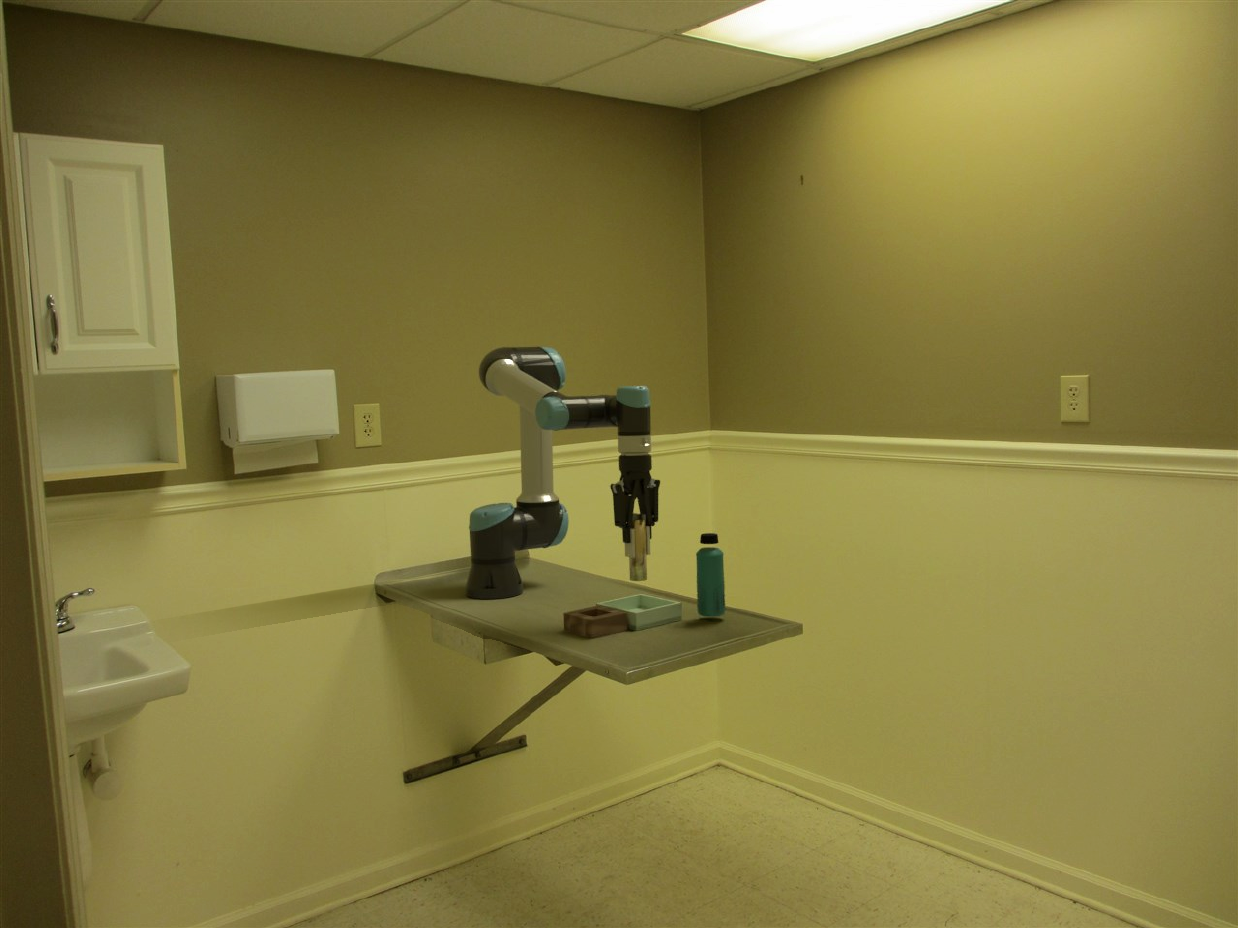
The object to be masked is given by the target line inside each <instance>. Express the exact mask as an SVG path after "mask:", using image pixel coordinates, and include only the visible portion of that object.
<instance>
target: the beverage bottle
mask: <svg viewBox="0 0 1238 928" xmlns="http://www.w3.org/2000/svg"><path fill="white" fill-rule="evenodd" d="M699 540H700V541H699V543H700V544H703V545H715V544H719V536H718V533H715V532H712V533H711V532H707V533H701V534H700V539H699ZM695 556H696V592H697V593H696V600H697V604H696V607H697V613H698V615H699V616H703V617H711V618H712V617H713V618H714V617H721V616H723V615H725V613H726V609H727V608H726V594H725V593H726V592H725V591H726V586H725V585H726V584H725V583H726V581H725V568H724V565H725V564H724V552H723V551H722V550H721V549H720V548H719V547H715V546H714V547H713V546H708V547H702V548H699V550H697V552H696V553H695Z"/></svg>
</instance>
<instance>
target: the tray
mask: <svg viewBox="0 0 1238 928" xmlns="http://www.w3.org/2000/svg"><path fill="white" fill-rule="evenodd" d="M595 606H602V607H606V608H611V609H615V610H619V611H623V612H627V630H631V631H632V630H633V631H635V632H637V631H642V630H646V629H650V628H654V627H659V626H662V625H665V624H671V623H674V622H678V621H682V620H683V616H682V615H683V610H682V606H683V605H682V602H680V601H676V600H672V599H667V598H661V597H657V596H653V595H648V594H643V593H639V594H633V595H628V596H623V597H620V598H614V599H611V600H607V601H600V602H596V603H595Z"/></svg>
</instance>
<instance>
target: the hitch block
mask: <svg viewBox="0 0 1238 928" xmlns="http://www.w3.org/2000/svg"><path fill="white" fill-rule="evenodd" d="M563 631H564V632H568V633H572V634H575V635H578V636H581V637H586V638H589V639H596V638H600V637H605V636H608V635H609V636H610V635H613V634H616V633H621V632H625V631H628V629H627V612H623V611H619V610H615V609H611V608H606V607H602V606H596V605H594V606H588V607H586V608H585V607H584V608H580V609H576V610H571V611H567V612H563Z"/></svg>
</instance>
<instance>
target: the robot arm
mask: <svg viewBox="0 0 1238 928" xmlns="http://www.w3.org/2000/svg"><path fill="white" fill-rule="evenodd" d="M566 373H567V372H566V367H565V363H564V361H563V358H562V356H561V355H560V353H559V352H558V351H557V350H556V349H554V348H553V347H546V346H516V347H515V346H511V347H510V346H503V347H498V348H495V349H493V350H491V351H489V352H488V353H486V355H484V357H483V358H482V360H481V361H480V364H479V367H478V378H479V380H480V383H481V384H482V386H483V387H484V388H485V389H486V390H487V391H488V392H490V393H491V394H493V395H495V396H501V397H503V396H504V397H506V398H507V399H509V400H511V401H512V402H514V403H515V404H517V405H519V433H520V434H519V435H520V436H519V437H520V441H519V442H520V472H521V473H520V474H521V475H520V477H521V478H520V479H521V492H520V495H518V497H517V498H516V502H515V503H516V505H515V506H516V507H515V506H514V504H512V503H511V502H499V503H498V502H497V503H491V504H490V503H489V504H487V505H482V506H479V507H477V508H474V509H473V510H472V511H471V512H470V514H469V526H468V529H469V541H470V543H469V544H470V545H469V546H470V567H469V568H470V569H469V571H468V572H469V573H468V577H467V579H466V580H467V581H466V584H465V589H464V590H465V596H466V597H469V598H473V599H482V600H483V599H485V600H493V599H505V598H511V597H512V598H513V597H515V596H519V595H521V594H523V592H524V584H523V580H522V578H521V575H520V572H519V570H518V566H517V563H516V552H520V551H526V550H527V551H528V550H533V549H534V550H535V549H536V550H537V549H547V548H550V547H556V546H558V545H560V544H561V543H563V540H564V539H565V538H566V536H567V533H568V529H569V514H568V513H567V508H566V506H565V505H564V504H563V503H561V502H560V497H559V496H558V495H557V494H556V493H555V491H554V457H553V456H554V455H553V454H554V451H553V450H554V447H553V432H554V431H555V432H557V431H564V430H565V431H566V430H580V429H581V430H582V429H599V428H600V429H601V428H617V449H618V450H617V452H618V453H619V454H620V455H619V456H618V471H619V472H620V477H619V481H617V482H616V483H611V484H610V485H609V488H610V490H611V492H612V501H613V517H614V518H613V520H614V526H615V527H618V528H619V529H621V530H622V531H621V532H622V543H624V557H627V558H629V557H632V558H634V557H635V529H631V527H632V520H633V513H634V509H635V503H636V499H637V503H638V504H637V505H638V510H639V514H646V520H645V522H646V556H650V555H651V540H652V538H653V536H652V527H654V526H655V525H656V523H657V522H659V490H660V485H661V480H660V479H655V478H652V476H651V473H650V471H651V470H652V468H653V467H652V465H653V464H652V463H653V461H652V455H651V454H650V453H651V452H652V441H651V440H652V438H651V437H652V436H651V434H652V433H651V431H652V430H651V429H652V428H651V427H652V426H651V424H652V423H651V422H652V421H651V404H652V403H651V400H650V389H649V388H648V387H647V386H646V385H634V386H633V385H632V386H631V385H629V386H628V385H627V386H618V388H617V389H616V394H615V395H614V394H598V395H581V396H580V395H579V396H578V395H574V396H573V395H572V396H568V395H565V394H563V393H561V392H559V390H561V389H563V387H564V386H565V382H566V375H567V374H566Z"/></svg>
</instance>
